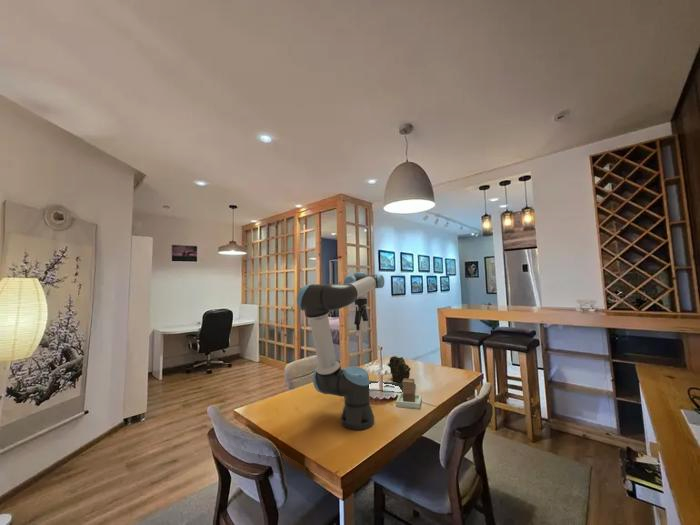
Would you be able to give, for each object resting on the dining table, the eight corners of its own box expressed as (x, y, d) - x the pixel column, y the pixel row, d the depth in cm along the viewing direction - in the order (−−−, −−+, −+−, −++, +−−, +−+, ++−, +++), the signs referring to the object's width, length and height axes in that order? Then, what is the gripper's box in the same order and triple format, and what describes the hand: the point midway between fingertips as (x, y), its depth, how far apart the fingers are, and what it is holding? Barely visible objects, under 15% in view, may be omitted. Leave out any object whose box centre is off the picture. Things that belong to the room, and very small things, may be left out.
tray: (419, 409, 140) (419, 403, 140) (396, 406, 143) (396, 401, 144) (421, 400, 151) (421, 394, 151) (399, 397, 154) (399, 392, 155)
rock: (387, 380, 183) (388, 356, 186) (395, 379, 189) (396, 355, 192) (403, 384, 174) (404, 358, 177) (411, 382, 180) (412, 357, 184)
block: (414, 404, 144) (413, 382, 144) (403, 403, 145) (402, 381, 146) (415, 400, 149) (414, 379, 150) (404, 399, 151) (403, 378, 151)
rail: (413, 394, 159) (413, 390, 159) (362, 389, 169) (362, 385, 169) (415, 387, 168) (415, 384, 169) (367, 383, 178) (366, 380, 178)
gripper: (360, 299, 158) (362, 337, 157) (371, 296, 182) (373, 330, 180) (348, 299, 161) (349, 337, 159) (360, 297, 184) (361, 330, 183)
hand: (361, 333), depth 170 cm, fingers open, 13 cm apart
